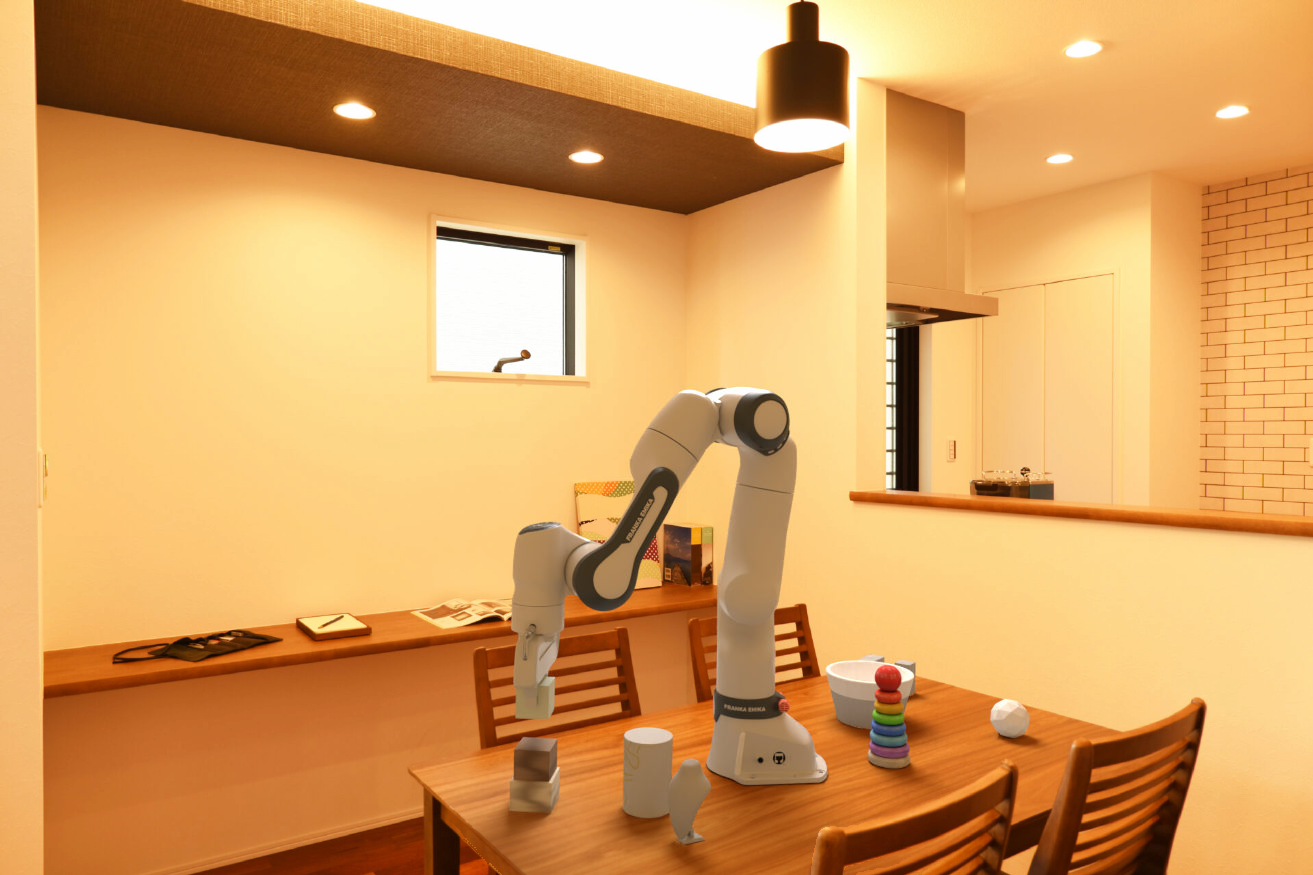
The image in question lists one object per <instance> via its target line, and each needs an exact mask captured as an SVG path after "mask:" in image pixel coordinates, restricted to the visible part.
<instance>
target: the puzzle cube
mask: <svg viewBox="0 0 1313 875" xmlns="http://www.w3.org/2000/svg"><path fill="white" fill-rule="evenodd" d="M856 661H874V662H882V663H885V656H882V655H876V654H872V653H871V654H868V655H865V656H864V657H861V658H858V659H857V660H856ZM916 664H917V663H916V662H915V661H911V660H906V659H899V660H897V661H895V662H894V665H897V666H900V667H903V668H906V669H908V670H910V671H911V672H912V673H913V674H914V680H913V683H912V687H911V691H910V694H909V696H910V695H912V694H913V693H915V694H916V666H917V665H916ZM912 696H913V695H912ZM910 697H911V696H910Z"/></svg>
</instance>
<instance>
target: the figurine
mask: <svg viewBox="0 0 1313 875" xmlns="http://www.w3.org/2000/svg"><path fill="white" fill-rule="evenodd" d="M680 764H681V765H680V766H679V769H678V770H677V772H676V773H675V774H674V775H672V780H671V782H670V784H669V789H668V805H669V813H668V814H669V818H670V822H671V826H672V829H673V831H674V834H675V836H676V841H678V842H680V843H681V844H682V845H688V844H693V843H699V842H703V841H705V840H706V839H705V838H704V836H702V835H701V834H699V833H697V832H695V829H694V828H693V825H694V823H695V820H696V816H697V814H698V812H699V810H700V807H701V805H702V804H703V802H704V801H705V799H706V798H707V796H708V795H709V794H710V792H711V790H712V785H711V782H710V780H709V779H708V777H707V776H706V774H705V773H704V770H703V768H702V765H701V763H700V761H699V760H697V759H694V758H687V759H685V760H684V761H683V762H682V763H680Z"/></svg>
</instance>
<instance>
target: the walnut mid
mask: <svg viewBox="0 0 1313 875" xmlns="http://www.w3.org/2000/svg"><path fill="white" fill-rule="evenodd" d="M517 743H518V744H517V745H516V746H515V748H514V749H513V775H514V778H513V780H526V781H543V782H549V781H550V779H551V778H552V776H553V774H554V772H555V771H556V769H557V767H558V738H546V737H545V738H544V737H530V736H529V737H528V736H527V737H526V736H522V738H521V740H519V742H517Z"/></svg>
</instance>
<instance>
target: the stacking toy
mask: <svg viewBox="0 0 1313 875" xmlns="http://www.w3.org/2000/svg"><path fill="white" fill-rule="evenodd" d="M875 682H876V684H877V686H878V687H879V688H880V689H877V690H876V692H875V698H876V699H877V700H876V701H875V703H874V708H875V710H874V711H873V714H872V716H873V719H874V720H873V721H872V724H871V726H872V729H870V732H869V738H870V742H869V743H868V744H869V745H868V746H869V750H868V752H867V759H868V760H869V761H870V762H871V763H872V764H873V765H875V766H878V767H881V768H886V769H901V768H905V767H907V766H909V764H910V763H911V756H910V754H909V753H910V749H911V748H910V745H909V744H908V742H907V741H908V734H907V733H906V731H907V726H906V723H905V713H904V714H903V713H902V711H903V709H904V706H903V704H902V702H900V700H901V699H902V694H901V692H900V691H899V690H897V689H898V688H899V687H900V685H901V682H902V676H901V673H900V671H899V670H898V669H897V668H896V667H894V666H892V665H883V666H881V667H879V668H878V669H877V671H876V673H875Z"/></svg>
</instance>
